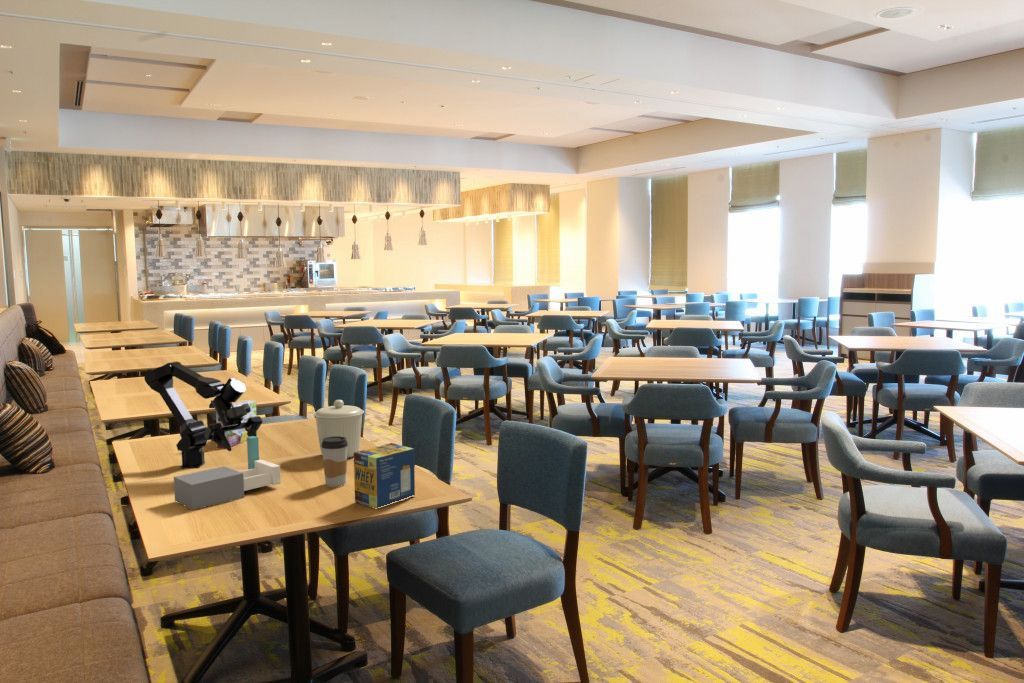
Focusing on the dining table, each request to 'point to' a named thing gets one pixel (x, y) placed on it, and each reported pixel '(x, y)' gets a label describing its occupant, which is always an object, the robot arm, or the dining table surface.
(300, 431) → the dining table surface
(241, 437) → the snack box
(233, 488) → the carton sleeve
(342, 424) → the canister
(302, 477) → the dining table surface
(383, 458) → the protein box
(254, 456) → the teal white angled piece
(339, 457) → the coffee cup
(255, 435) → the robot arm
